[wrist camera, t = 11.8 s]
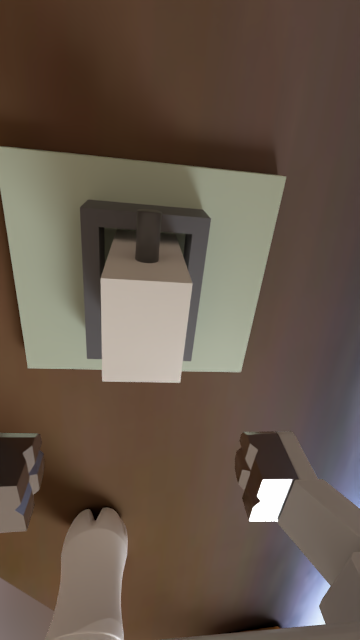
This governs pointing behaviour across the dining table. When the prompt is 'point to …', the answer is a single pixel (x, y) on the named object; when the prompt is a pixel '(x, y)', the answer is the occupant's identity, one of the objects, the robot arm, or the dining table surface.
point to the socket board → (121, 214)
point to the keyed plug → (144, 304)
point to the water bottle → (91, 579)
